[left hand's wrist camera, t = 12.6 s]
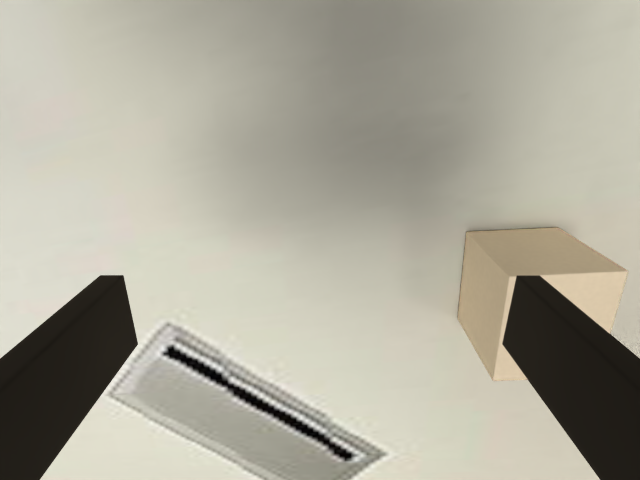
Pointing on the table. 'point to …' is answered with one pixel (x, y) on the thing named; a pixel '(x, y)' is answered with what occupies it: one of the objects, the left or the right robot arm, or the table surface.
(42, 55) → the table surface
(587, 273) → the block
